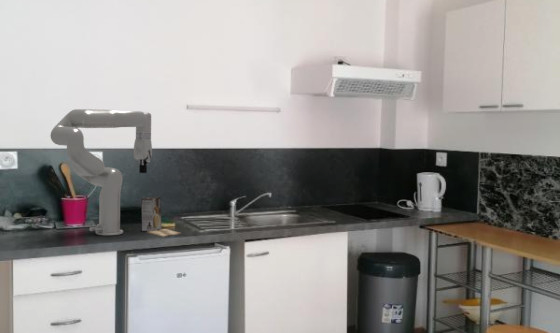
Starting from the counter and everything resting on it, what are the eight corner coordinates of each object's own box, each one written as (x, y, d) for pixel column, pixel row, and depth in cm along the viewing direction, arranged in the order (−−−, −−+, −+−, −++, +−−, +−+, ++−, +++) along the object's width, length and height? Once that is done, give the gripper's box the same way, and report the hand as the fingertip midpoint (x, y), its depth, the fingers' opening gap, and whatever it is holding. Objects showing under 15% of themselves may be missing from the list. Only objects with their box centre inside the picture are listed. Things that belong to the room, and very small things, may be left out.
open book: (162, 236, 251) (162, 235, 251) (146, 232, 259) (146, 231, 259) (181, 233, 259) (181, 232, 259) (165, 229, 268) (165, 228, 267)
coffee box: (149, 228, 271) (149, 196, 270) (161, 228, 269) (161, 196, 269) (141, 230, 262) (141, 198, 261) (153, 231, 260) (153, 198, 260)
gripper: (128, 136, 270) (128, 172, 271) (145, 137, 260) (145, 174, 262) (141, 136, 276) (140, 171, 277) (158, 137, 266) (158, 173, 267)
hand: (143, 172), depth 269 cm, fingers closed
